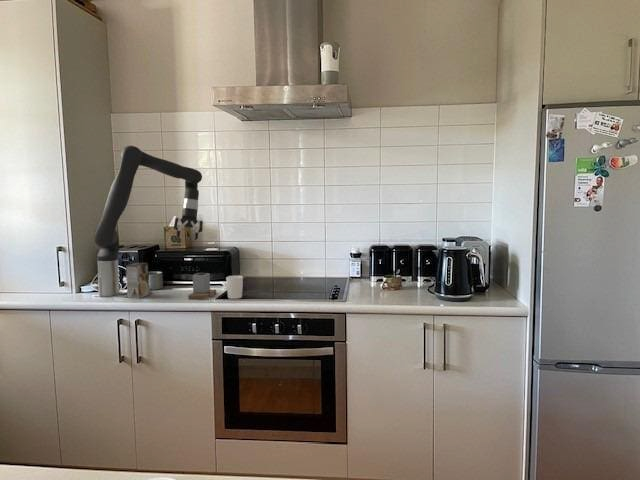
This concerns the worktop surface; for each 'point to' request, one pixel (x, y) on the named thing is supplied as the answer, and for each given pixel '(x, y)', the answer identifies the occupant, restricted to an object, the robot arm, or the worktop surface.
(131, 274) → the coffee box
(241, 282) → the white cup
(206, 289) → the socket
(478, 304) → the worktop surface
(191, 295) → the post block
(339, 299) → the worktop surface
